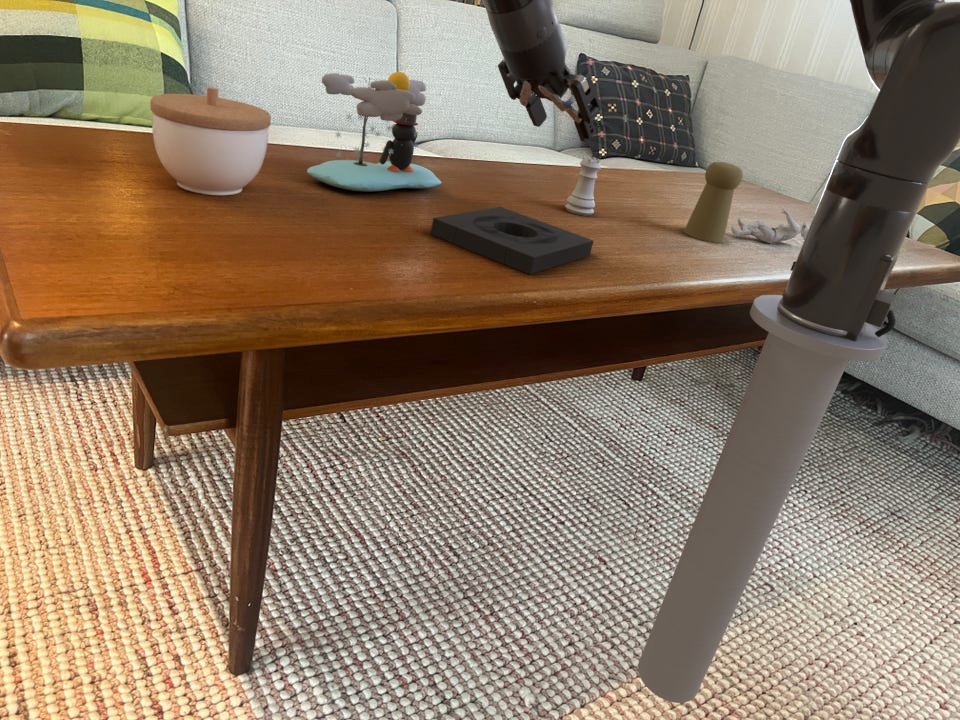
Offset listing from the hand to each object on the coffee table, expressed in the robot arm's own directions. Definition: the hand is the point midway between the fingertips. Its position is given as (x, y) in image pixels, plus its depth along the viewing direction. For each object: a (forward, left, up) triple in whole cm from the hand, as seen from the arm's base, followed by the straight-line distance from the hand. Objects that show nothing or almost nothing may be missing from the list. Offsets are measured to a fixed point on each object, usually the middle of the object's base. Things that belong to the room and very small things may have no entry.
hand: (563, 129), depth 99 cm
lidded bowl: (+24, +38, -12) cm, 46 cm away
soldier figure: (-24, -29, -12) cm, 40 cm away
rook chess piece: (-1, -8, -12) cm, 14 cm away
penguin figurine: (+19, +15, -12) cm, 27 cm away
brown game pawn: (-17, -19, -12) cm, 28 cm away
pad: (-6, +18, -12) cm, 23 cm away
